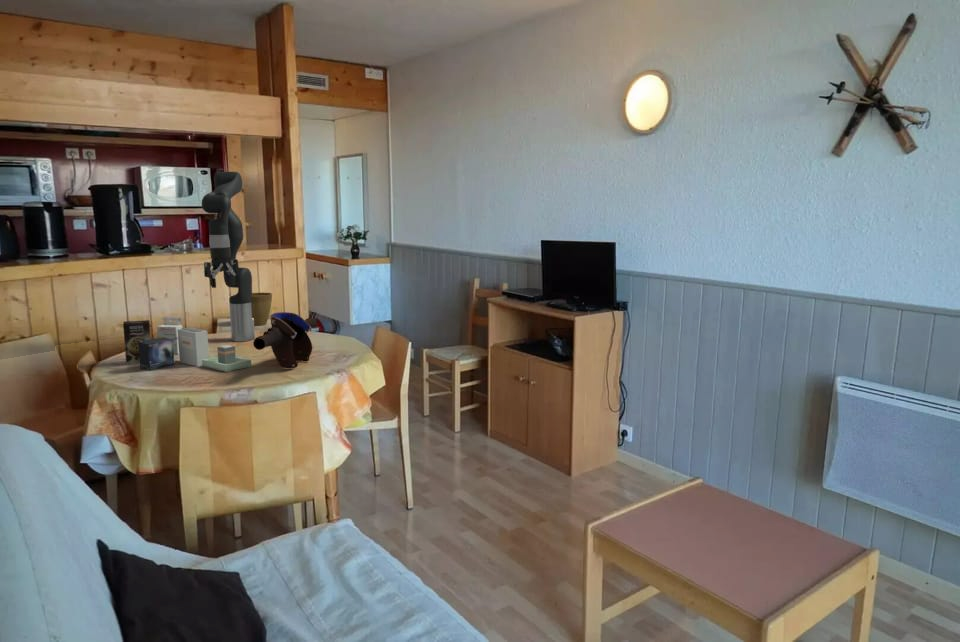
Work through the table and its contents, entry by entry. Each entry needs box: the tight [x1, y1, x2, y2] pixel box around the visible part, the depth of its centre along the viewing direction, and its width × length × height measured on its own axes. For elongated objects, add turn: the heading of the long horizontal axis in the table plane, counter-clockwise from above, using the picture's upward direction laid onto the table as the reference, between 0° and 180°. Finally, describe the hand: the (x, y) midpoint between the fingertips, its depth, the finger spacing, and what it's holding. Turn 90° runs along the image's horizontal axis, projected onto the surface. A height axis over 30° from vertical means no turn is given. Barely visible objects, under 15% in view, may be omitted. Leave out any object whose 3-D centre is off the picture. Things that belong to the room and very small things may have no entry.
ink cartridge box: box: [156, 316, 183, 356], centre depth 263 cm, size 9×5×15 cm, turn 84°
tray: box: [201, 356, 252, 373], centre depth 244 cm, size 11×15×3 cm
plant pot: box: [251, 292, 273, 327], centre depth 330 cm, size 15×15×16 cm
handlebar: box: [252, 311, 318, 369], centre depth 246 cm, size 45×13×20 cm, turn 170°
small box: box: [138, 337, 176, 372], centre depth 241 cm, size 11×6×10 cm, turn 148°
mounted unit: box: [177, 327, 210, 367], centre depth 248 cm, size 6×12×13 cm, turn 56°
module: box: [216, 344, 237, 364], centre depth 243 cm, size 5×5×7 cm
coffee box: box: [122, 320, 151, 365], centre depth 248 cm, size 9×6×16 cm
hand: (223, 286), depth 257 cm, fingers open, 8 cm apart
